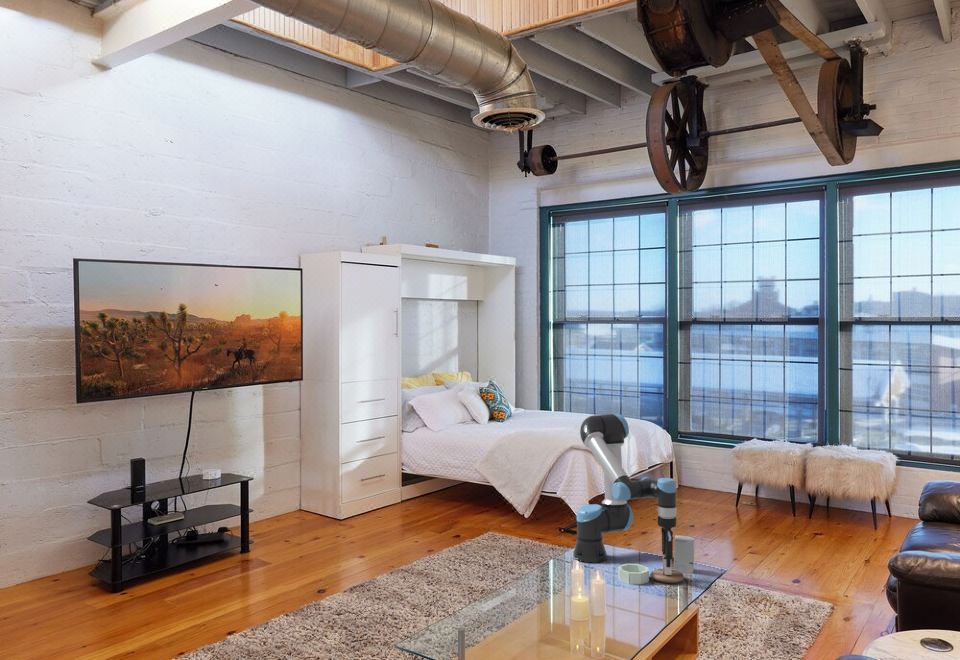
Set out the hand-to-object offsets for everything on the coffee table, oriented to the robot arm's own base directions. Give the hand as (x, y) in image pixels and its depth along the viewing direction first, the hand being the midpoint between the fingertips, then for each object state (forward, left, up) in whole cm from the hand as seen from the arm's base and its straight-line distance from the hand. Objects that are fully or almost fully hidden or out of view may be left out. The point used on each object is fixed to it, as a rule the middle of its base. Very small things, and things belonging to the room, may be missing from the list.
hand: (667, 572), depth 297 cm
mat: (0, 0, -3) cm, 3 cm away
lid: (0, 0, -2) cm, 2 cm away
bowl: (0, -14, -3) cm, 14 cm away
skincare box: (-12, +9, -4) cm, 15 cm away
